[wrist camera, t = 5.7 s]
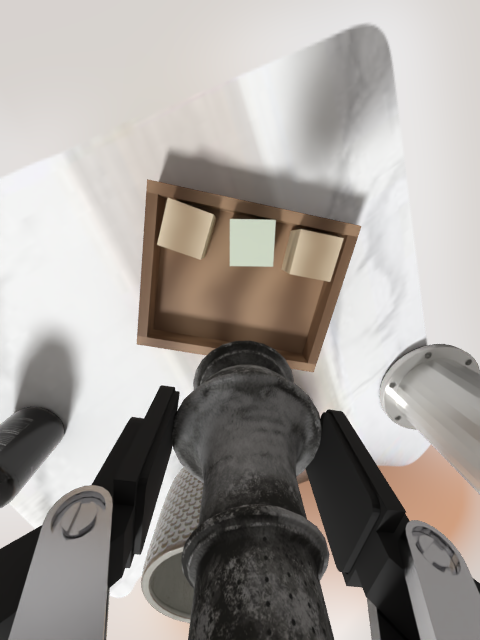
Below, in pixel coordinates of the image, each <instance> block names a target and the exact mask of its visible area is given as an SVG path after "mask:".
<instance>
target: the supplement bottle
mask: <svg viewBox="0 0 480 640" xmlns="http://www.w3.org/2000/svg"><path fill="white" fill-rule="evenodd" d="M63 435H64V426H63V424H62V422H61V420H60V419H59V418H58V417H57V416H56V415H55V414H54V413H52V412H50V411H48V410H46V409H43V408H38V407H28V408H23V409H21V410H19V411H17V412H15V413H14V414H13V415H11V416H10V417H9V418H8V419H6V420H5V421H4V422H3V423H2V424H0V508H2V507H4V506H5V505H7V504H8V503H9V502H11V501H12V500H13V498H14V497H15V496H16V495H17V494H18V493H19V491H20V490H21V489H22V488H23V487H24V485H25V484H26V483H27V482H28V480H29V479H30V478H31V477H32V476H33V474H34V473H35V472H36V471H37V469H38V468H39V467H40V466H41V465H42V463H43V462H44V461H45V460H46V459H47V457H48V456H49V455H50V454H51V452H52V451H53V450H54V449H55V448H56V446H57V445H58V444H59V442H60V441H61V440H62V438H63Z"/></svg>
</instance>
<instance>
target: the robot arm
mask: <svg viewBox="0 0 480 640" xmlns="http://www.w3.org/2000/svg"><path fill="white" fill-rule="evenodd" d="M379 398H380V403H381V406H382V408H383V411H384V412H385V413H386V414H387V416H388V417H389V418H390V419H391V420H392V421H393V422H394V423H396V424H398V425H400V426H402V427H405V428H408V429H415V430H418V431H419V432H420V433H421V434H422V435H423V436H424V437H425V438H426V439H427V440H428V441H429V442H430V443H431V444H432V445H433V446H434V448H435V449H436V450H437V451H438V452H439V453H440V454H441V455H442V456H443V457H444V458H445V459H446V460H447V461H448V462H449V463H450V464H451V465H452V466H453V467H454V468H455V469H456V470H457V471H458V472H459V473H460V474H461V475H462V477H464V479H465V480H467V482H468V483H469V484H470V485H471V486H472V487H473V488H474V489H475V490H476V491H477V492H478V493H479V494H480V370H479V367H478V364H477V362H476V361H475V359H474V358H473V357H472V356H471V355H470V354H468V353H467V352H465V351H463V350H461V349H459V348H457V347H454V346H451V345H445V344H434V345H428V346H423V347H420V348H418V349H415V350H413V351H411V352H409V353H407V354H406V355H404V356H403V357H402V358H400V359H399V360H398V361H397V362H396V363H395V364H394V365H393V366H392V367H391V368H390V369H389V371H388V372H387V373H386V375H385V377H384V379H383V381H382V384H381V387H380V396H379ZM178 400H179V392H178V391H175V387H169V386H162V385H161V386H160V388H159V390H158V392H157V394H156V396H155V398H154V400H153V402H152V404H151V406H150V408H149V410H148V412H147V414H146V416H145V418H144V419H143V418H136V417H132V418H130V420H129V421H128V423H127V425H126V426H125V428H124V430H123V432H122V433H121V435H120V437H119V438H118V440H117V442H116V444H115V445H114V447H113V449H112V451H111V452H110V454H109V456H108V457H107V459H106V461H105V463H104V464H103V466H102V468H101V470H100V471H99V473H98V475H97V476H96V478H95V480H94V482H93V483H92V485H90V486H83V487H80V488H77V489H74V490H73V491H71V492H69V493H67V494H66V495H64V496H63V497H62V498H61V499H59V500H58V501H57V502H56V503H55V504H54V505H53V507H52V508H51V509H50V510H49V512H48V513H47V516H46V518H45V520H44V522H43V525H42V526H40V527H38V528H36V529H35V530H33V531H31V532H29V533H28V534H26V535H24V536H22V537H21V538H19V539H17V540H15V541H13V542H12V543H10V544H8V545H6V546H5V547H3V548H1V549H0V640H106V637H107V622H108V605H109V591H110V587H111V586H112V585H113V584H115V583H116V582H117V581H118V580H119V579H120V578H122V576H123V573H124V570H125V568H130V566H131V563H132V560H133V557H134V554H141V552H142V549H143V546H144V543H145V539H146V536H147V532H148V529H149V526H150V522H151V519H152V515H153V512H154V509H155V505H156V502H157V498H158V495H159V492H160V488H161V485H162V481H163V478H164V475H165V471H166V468H167V464H168V461H169V458H170V454H171V451H172V446H173V441H172V432H173V424H174V417H175V414H176V413H177V408H178ZM320 421H321V426H322V433H321V441H320V445H319V447H318V450H317V452H316V454H315V457H314V459H313V460H312V461H311V462H310V464H309V465H308V466H307V467H306V471H307V475H308V478H309V481H310V484H311V487H312V490H313V494H314V497H315V500H316V503H317V506H318V510H319V513H320V516H321V519H322V523H323V525H324V529H325V532H326V535H327V539H328V542H329V545H330V548H331V551H332V555H333V557H334V561H335V564H336V567H337V569H338V570H339V571H340V572H342V574H343V577H344V580H345V583H346V586H354V587H363V590H364V593H365V595H366V597H367V602H368V611H369V619H370V628H371V636H372V640H480V583H478V582H477V581H476V580H475V579H473V578H472V576H471V574H470V572H469V569H468V567H467V565H466V563H465V561H464V559H463V557H462V556H461V554H460V552H459V551H458V550H457V549H456V547H455V546H454V545H453V544H452V543H451V541H450V540H448V539H447V538H446V537H445V536H444V535H443V534H442V533H441V532H439V531H438V530H437V529H435V528H434V527H432V526H430V525H428V524H427V523H425V522H421V521H418V520H414V521H413V520H412V521H409V519H408V518H407V516H406V514H405V512H406V511H405V509H404V508H403V506H402V504H401V503H400V501H399V500H398V498H397V497H396V495H395V493H394V492H393V490H392V489H391V487H390V486H389V484H388V482H387V481H386V479H385V478H384V476H383V475H382V473H381V471H380V470H379V468H378V467H377V465H376V463H375V462H374V460H373V459H372V457H371V455H370V454H369V452H368V451H367V449H366V448H365V446H364V444H363V443H362V441H361V440H360V438H359V436H358V435H357V433H356V432H355V430H354V429H353V427H352V425H351V424H350V422H349V421H348V419H347V418H346V416H345V414H344V413H343V412H341V411H335V410H327V411H326V413H325V412H324V413H323V414H322V416H321V418H320Z"/></svg>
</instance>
